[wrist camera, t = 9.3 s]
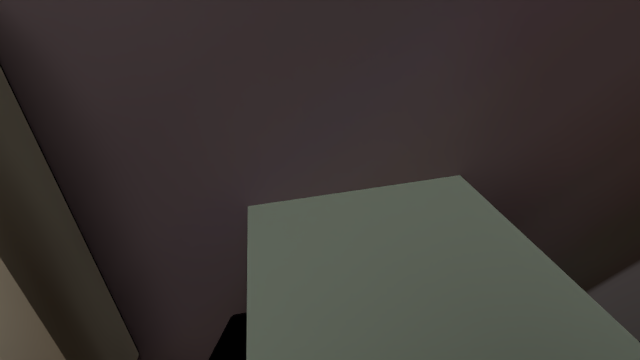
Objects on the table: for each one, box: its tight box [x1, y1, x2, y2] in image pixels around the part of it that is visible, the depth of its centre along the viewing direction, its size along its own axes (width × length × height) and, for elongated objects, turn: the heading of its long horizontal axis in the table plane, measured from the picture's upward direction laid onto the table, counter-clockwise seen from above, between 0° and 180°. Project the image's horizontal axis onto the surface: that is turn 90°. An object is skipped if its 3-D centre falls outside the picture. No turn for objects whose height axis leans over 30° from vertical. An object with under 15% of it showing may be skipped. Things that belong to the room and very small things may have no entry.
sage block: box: [246, 175, 640, 360], centre depth 8 cm, size 5×5×5 cm
